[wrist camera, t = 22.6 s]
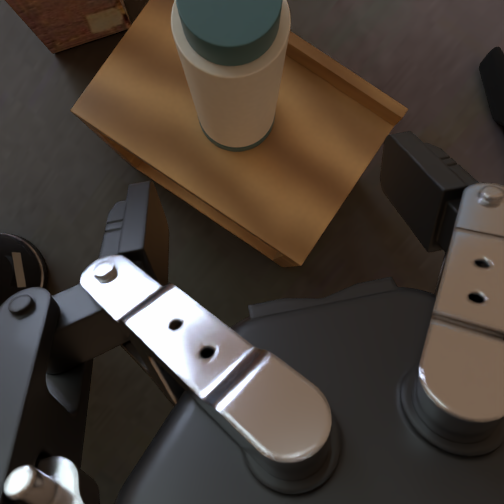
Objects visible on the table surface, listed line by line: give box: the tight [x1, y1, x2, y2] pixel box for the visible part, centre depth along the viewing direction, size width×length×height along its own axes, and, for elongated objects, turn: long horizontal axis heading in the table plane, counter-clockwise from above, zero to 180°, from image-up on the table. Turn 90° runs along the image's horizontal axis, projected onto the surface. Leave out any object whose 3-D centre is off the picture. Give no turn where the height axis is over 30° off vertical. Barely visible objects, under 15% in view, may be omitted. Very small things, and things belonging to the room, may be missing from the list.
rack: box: [70, 0, 408, 267], centre depth 34 cm, size 13×20×16 cm, turn 56°
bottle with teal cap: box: [171, 0, 291, 152], centre depth 22 cm, size 6×6×12 cm
